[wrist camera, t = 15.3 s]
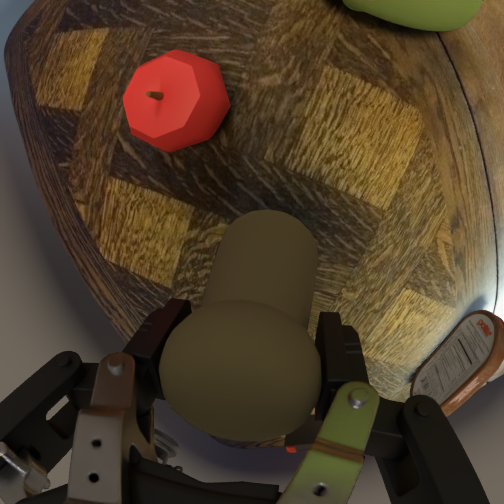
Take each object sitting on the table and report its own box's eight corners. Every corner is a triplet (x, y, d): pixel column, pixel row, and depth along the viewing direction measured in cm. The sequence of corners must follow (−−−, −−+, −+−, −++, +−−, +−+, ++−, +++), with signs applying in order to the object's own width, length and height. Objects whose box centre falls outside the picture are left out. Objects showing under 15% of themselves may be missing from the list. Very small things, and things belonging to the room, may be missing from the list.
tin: (414, 385, 30) (428, 434, 22) (399, 381, 29) (413, 432, 22) (488, 302, 23) (521, 345, 16) (476, 293, 23) (512, 337, 15)
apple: (187, 168, 23) (141, 184, 16) (137, 105, 21) (80, 101, 14) (260, 110, 20) (243, 95, 13) (203, 46, 18) (163, 12, 11)
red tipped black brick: (334, 411, 29) (336, 442, 24) (335, 418, 29) (336, 448, 25) (286, 416, 30) (284, 447, 26) (289, 423, 31) (286, 453, 26)
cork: (209, 283, 18) (134, 425, 8) (232, 195, 15) (127, 304, 5) (297, 311, 18) (289, 470, 8) (333, 229, 15) (384, 381, 5)
